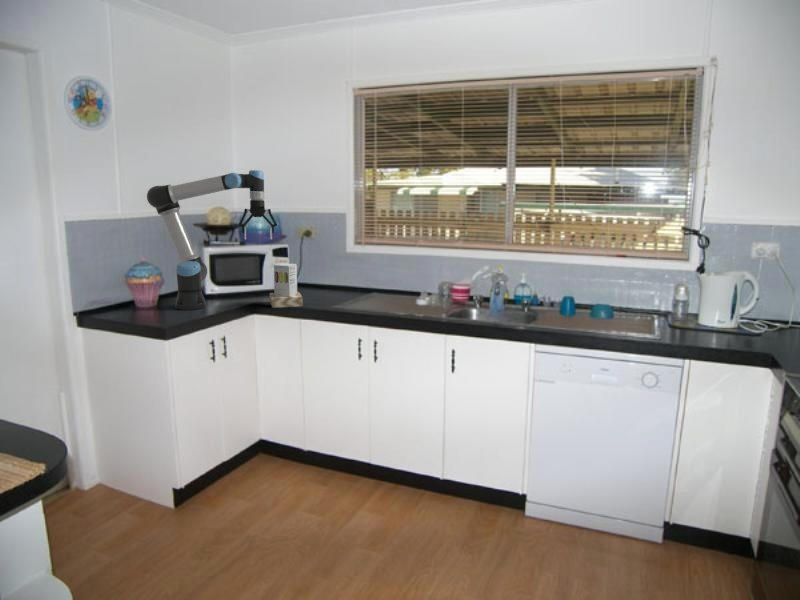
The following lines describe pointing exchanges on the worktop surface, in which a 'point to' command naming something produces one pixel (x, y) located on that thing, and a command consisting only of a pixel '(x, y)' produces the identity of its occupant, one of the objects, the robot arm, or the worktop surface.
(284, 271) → the supplement box
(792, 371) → the worktop surface
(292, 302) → the block
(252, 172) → the robot arm
